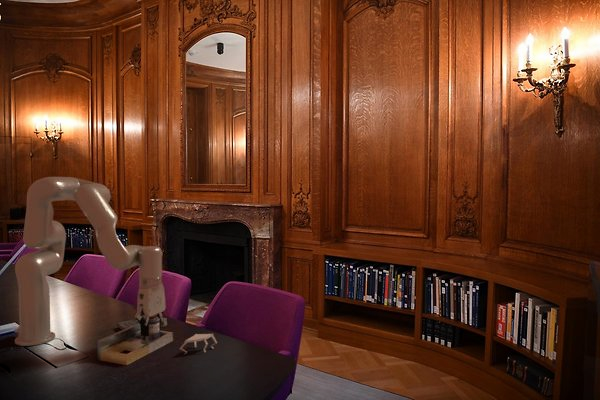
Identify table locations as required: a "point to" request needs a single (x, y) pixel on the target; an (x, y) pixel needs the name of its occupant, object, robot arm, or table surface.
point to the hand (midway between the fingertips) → (151, 332)
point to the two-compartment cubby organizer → (129, 345)
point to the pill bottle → (153, 328)
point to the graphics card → (133, 322)
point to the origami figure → (199, 338)
